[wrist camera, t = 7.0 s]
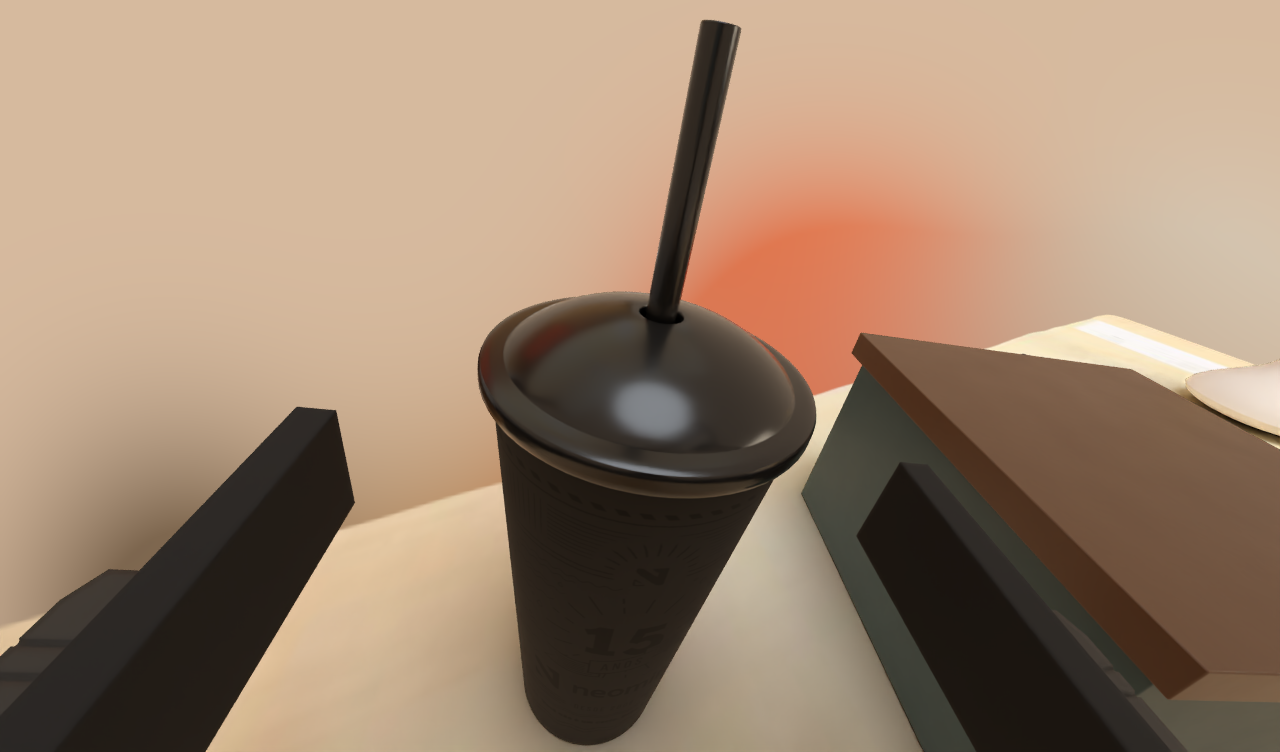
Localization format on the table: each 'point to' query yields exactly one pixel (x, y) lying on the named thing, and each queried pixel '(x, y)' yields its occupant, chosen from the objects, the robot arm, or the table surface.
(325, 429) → the robot arm
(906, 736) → the table surface
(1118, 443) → the cabinet
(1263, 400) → the flower in vase
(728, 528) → the drinking cup
